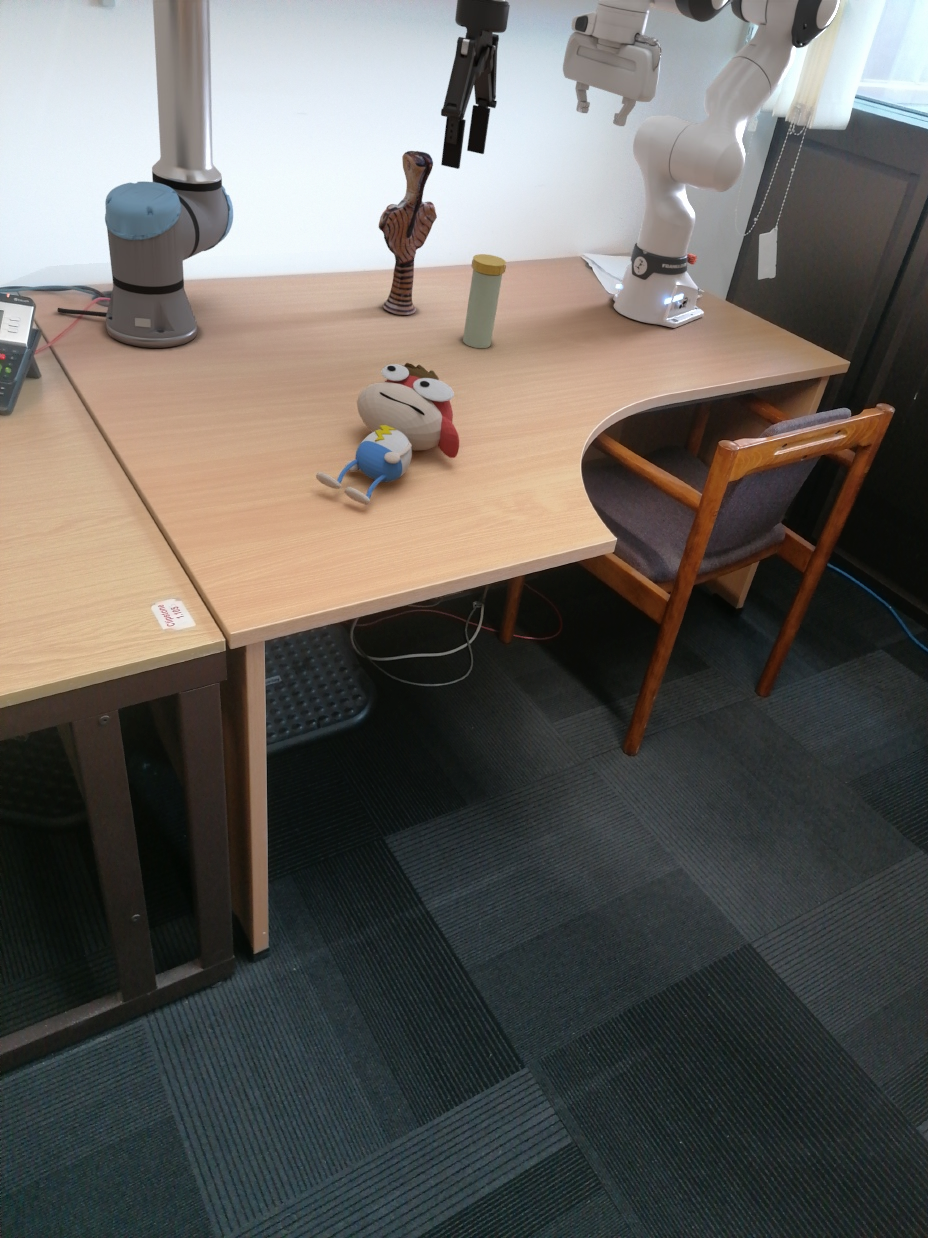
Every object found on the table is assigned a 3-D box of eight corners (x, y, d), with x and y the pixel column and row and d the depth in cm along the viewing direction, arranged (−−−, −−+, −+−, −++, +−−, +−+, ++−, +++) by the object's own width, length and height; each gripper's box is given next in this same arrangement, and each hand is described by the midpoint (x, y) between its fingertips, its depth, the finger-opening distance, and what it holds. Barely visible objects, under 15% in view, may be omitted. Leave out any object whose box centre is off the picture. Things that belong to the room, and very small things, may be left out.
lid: (465, 263, 167) (466, 254, 166) (494, 262, 170) (495, 253, 169) (481, 275, 163) (483, 265, 162) (511, 274, 166) (512, 265, 165)
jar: (457, 337, 176) (469, 257, 167) (481, 335, 179) (494, 256, 169) (471, 349, 173) (483, 267, 163) (495, 347, 175) (509, 266, 166)
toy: (278, 428, 121) (396, 343, 140) (277, 485, 128) (389, 398, 148) (391, 486, 117) (497, 391, 136) (384, 542, 124) (485, 444, 143)
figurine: (408, 296, 190) (424, 141, 171) (437, 307, 187) (456, 151, 168) (363, 310, 180) (375, 147, 161) (392, 322, 177) (407, 158, 158)
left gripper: (485, 3, 116) (463, 178, 129) (530, -3, 135) (506, 151, 148) (431, -8, 117) (414, 167, 130) (483, -12, 136) (463, 141, 149)
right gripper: (676, 41, 148) (653, 133, 157) (590, 18, 159) (573, 105, 168) (651, 38, 145) (630, 133, 153) (565, 15, 156) (550, 104, 164)
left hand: (463, 159), depth 139 cm, fingers open, 13 cm apart
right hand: (600, 118), depth 161 cm, fingers open, 8 cm apart
